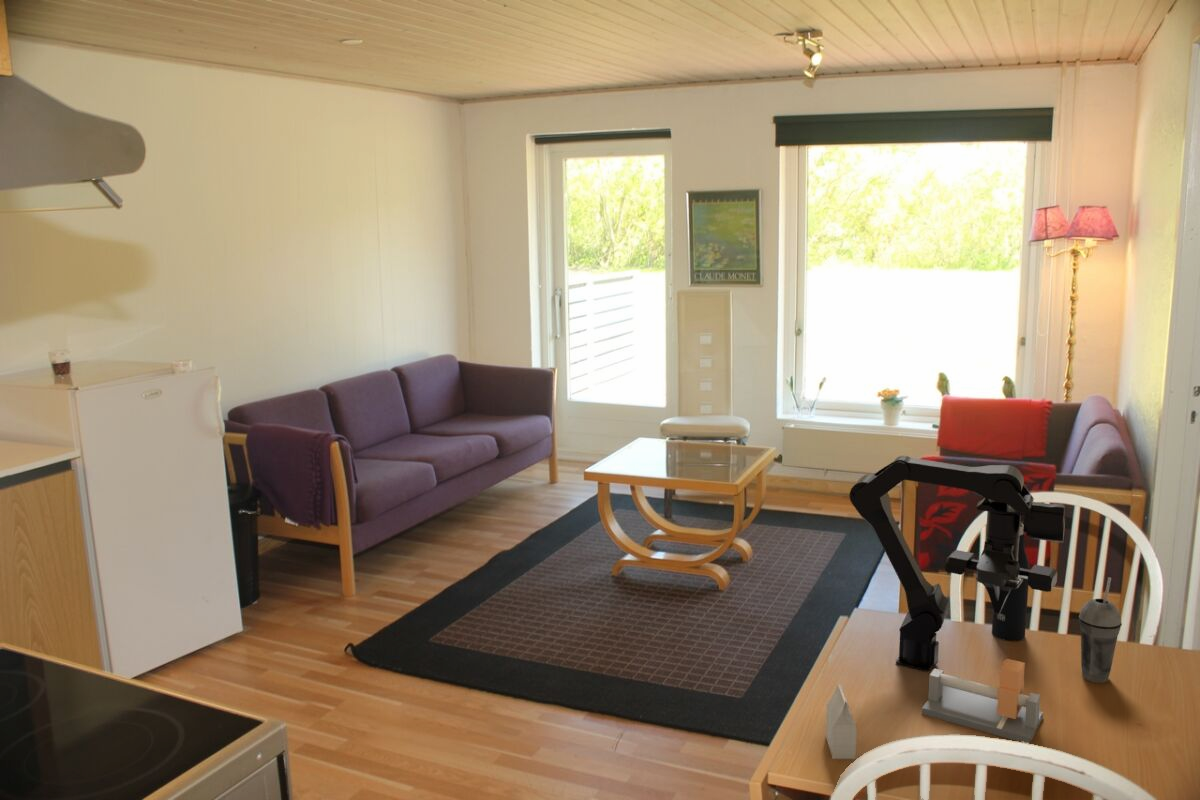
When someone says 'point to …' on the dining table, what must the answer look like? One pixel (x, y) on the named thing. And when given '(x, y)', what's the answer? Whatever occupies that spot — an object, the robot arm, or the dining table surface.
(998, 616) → the black water bottle
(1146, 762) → the dining table surface
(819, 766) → the dining table surface
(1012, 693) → the collar
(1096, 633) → the beverage cup
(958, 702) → the rail stand
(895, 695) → the dining table surface
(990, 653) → the dining table surface
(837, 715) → the grey gable top carton
